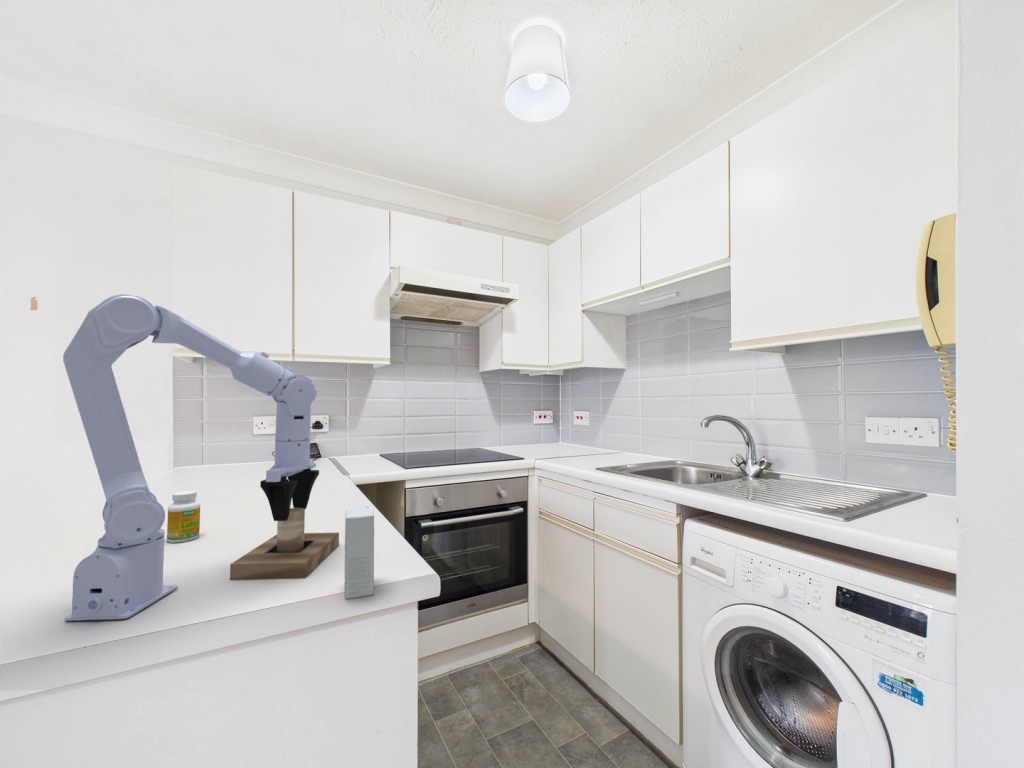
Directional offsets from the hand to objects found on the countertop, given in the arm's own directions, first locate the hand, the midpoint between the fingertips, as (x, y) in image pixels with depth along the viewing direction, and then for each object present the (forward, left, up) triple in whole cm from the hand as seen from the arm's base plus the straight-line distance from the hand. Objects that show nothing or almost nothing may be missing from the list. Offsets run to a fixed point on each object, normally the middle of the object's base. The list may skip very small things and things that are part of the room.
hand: (290, 514), depth 76 cm
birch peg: (0, 0, -8) cm, 8 cm away
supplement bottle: (+14, +28, -9) cm, 32 cm away
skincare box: (-12, -16, -9) cm, 22 cm away
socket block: (0, 0, -8) cm, 8 cm away
